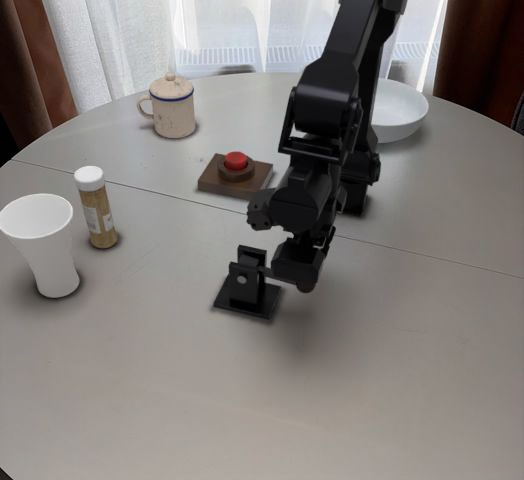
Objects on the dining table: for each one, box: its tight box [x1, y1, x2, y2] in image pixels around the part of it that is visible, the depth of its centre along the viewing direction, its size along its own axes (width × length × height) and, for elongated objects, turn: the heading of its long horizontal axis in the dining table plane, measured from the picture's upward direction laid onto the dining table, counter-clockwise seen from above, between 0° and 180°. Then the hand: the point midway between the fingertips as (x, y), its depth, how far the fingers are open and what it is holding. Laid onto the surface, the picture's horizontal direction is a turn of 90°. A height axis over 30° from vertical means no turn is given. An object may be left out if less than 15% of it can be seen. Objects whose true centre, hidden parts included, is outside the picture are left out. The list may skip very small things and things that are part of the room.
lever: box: [238, 254, 317, 294], centre depth 86 cm, size 12×3×3 cm, turn 73°
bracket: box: [212, 244, 282, 321], centre depth 88 cm, size 9×7×9 cm
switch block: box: [197, 152, 274, 202], centre depth 111 cm, size 12×10×4 cm
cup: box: [0, 193, 80, 299], centre depth 88 cm, size 10×10×14 cm
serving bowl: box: [371, 77, 430, 144], centre depth 123 cm, size 21×21×7 cm
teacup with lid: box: [136, 71, 196, 139], centre depth 120 cm, size 12×9×12 cm
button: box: [225, 151, 247, 171], centre depth 109 cm, size 4×4×2 cm
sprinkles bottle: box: [73, 165, 118, 249], centre depth 95 cm, size 5×5×14 cm
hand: (305, 275), depth 84 cm, fingers closed
